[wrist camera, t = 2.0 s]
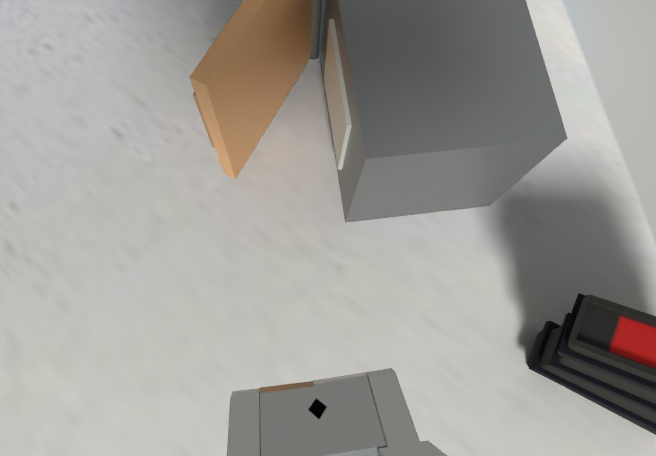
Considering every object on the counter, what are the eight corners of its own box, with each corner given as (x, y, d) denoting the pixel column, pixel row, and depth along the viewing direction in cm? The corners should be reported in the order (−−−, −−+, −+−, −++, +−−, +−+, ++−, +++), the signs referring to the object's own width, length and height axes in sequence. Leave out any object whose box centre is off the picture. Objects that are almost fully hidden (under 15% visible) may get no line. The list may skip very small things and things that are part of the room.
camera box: (341, 222, 39) (360, 159, 27) (313, 36, 44) (318, -85, 32) (489, 205, 40) (567, 138, 28) (445, 25, 45) (497, -94, 33)
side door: (215, 168, 38) (176, 70, 26) (297, 41, 42) (297, -98, 30) (241, 181, 38) (214, 89, 26) (320, 52, 42) (330, -83, 29)
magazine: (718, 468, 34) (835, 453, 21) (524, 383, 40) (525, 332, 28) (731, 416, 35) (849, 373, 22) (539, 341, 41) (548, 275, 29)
